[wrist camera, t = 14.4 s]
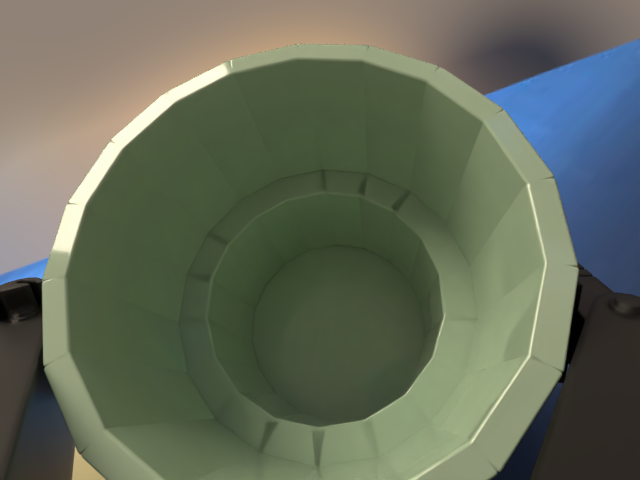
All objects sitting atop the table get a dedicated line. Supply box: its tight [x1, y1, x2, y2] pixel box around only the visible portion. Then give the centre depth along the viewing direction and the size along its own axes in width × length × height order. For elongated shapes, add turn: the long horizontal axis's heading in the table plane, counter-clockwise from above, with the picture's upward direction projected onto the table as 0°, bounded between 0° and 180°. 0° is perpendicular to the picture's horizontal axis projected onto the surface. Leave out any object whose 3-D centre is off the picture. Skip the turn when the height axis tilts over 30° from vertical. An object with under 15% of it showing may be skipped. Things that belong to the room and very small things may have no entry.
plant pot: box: [42, 44, 579, 480], centre depth 13 cm, size 11×11×12 cm
